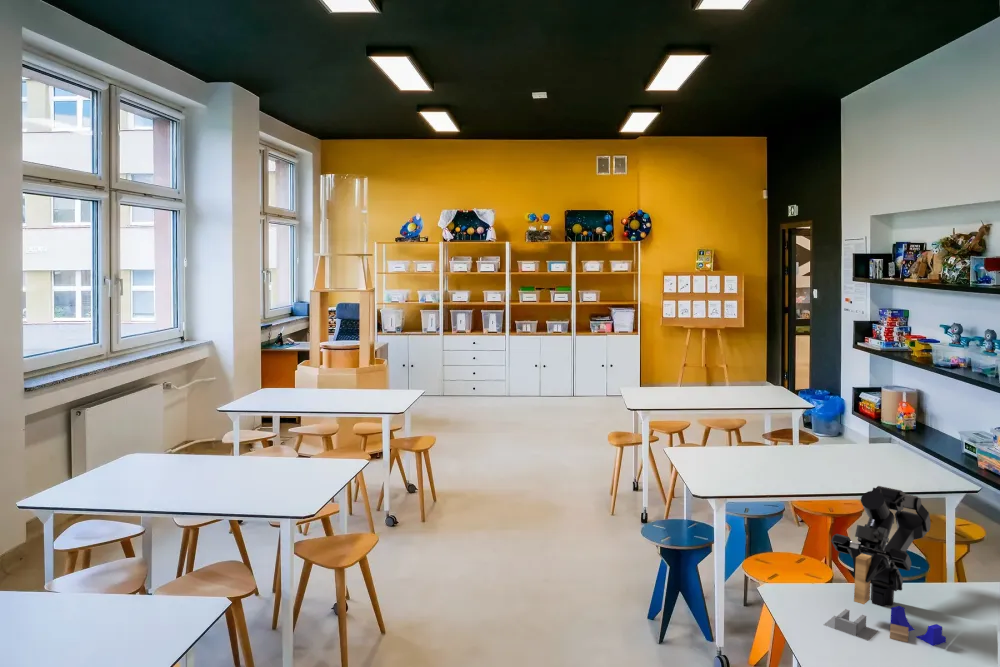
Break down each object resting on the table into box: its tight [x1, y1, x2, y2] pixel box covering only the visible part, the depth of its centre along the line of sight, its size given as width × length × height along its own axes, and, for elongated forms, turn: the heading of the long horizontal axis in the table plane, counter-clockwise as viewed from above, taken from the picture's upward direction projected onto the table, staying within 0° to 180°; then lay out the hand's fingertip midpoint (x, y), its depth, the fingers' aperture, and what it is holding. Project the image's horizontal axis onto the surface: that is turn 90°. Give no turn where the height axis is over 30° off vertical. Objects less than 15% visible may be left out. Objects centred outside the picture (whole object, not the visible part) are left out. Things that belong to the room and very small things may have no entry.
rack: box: [823, 608, 879, 641], centre depth 187 cm, size 7×11×4 cm, turn 43°
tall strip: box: [853, 553, 872, 605], centre depth 191 cm, size 4×2×12 cm, turn 133°
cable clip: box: [890, 605, 947, 646], centre depth 185 cm, size 12×4×6 cm, turn 22°
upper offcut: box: [889, 623, 909, 643], centre depth 183 cm, size 5×4×2 cm
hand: (860, 580), depth 190 cm, fingers closed on tall strip, 2 cm apart
